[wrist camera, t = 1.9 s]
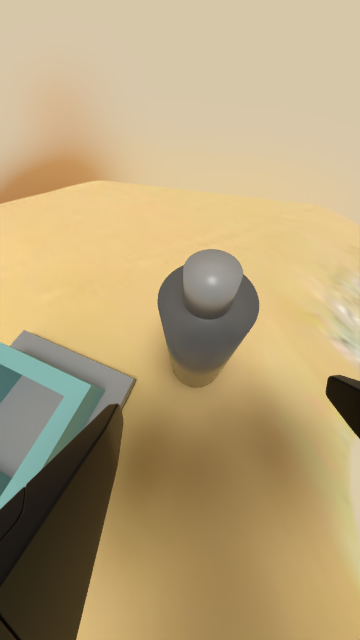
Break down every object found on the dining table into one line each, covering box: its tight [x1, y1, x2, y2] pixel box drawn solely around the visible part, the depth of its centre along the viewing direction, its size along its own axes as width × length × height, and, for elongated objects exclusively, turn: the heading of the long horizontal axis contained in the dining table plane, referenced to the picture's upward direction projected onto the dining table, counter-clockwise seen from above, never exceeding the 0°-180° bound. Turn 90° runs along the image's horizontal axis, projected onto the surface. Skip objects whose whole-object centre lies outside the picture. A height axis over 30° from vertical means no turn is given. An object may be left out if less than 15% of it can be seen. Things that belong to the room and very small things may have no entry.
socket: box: [0, 330, 136, 509], centre depth 16 cm, size 14×14×4 cm
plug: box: [158, 249, 259, 387], centre depth 14 cm, size 5×5×14 cm
